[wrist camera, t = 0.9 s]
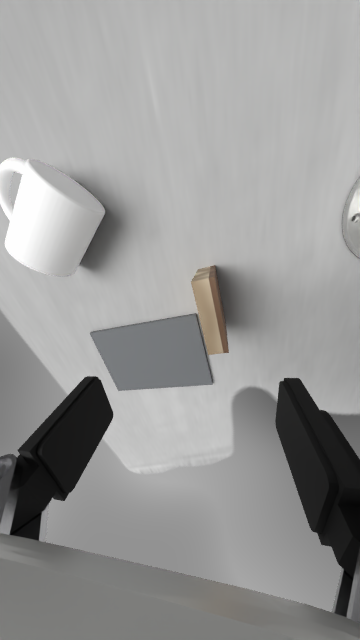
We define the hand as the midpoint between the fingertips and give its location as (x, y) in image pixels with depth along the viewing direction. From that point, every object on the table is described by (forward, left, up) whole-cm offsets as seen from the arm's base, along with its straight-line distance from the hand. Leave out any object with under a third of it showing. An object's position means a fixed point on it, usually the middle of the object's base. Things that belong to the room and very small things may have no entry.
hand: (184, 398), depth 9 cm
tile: (-1, +1, -20) cm, 20 cm away
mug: (+17, -15, -20) cm, 30 cm away
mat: (+12, +10, -19) cm, 25 cm away
